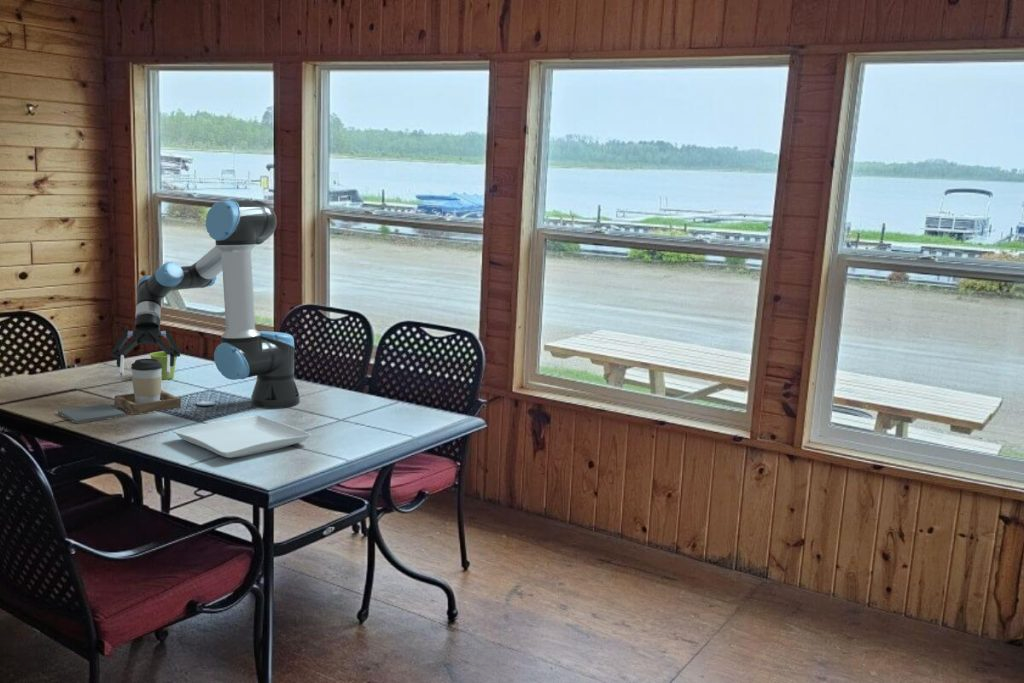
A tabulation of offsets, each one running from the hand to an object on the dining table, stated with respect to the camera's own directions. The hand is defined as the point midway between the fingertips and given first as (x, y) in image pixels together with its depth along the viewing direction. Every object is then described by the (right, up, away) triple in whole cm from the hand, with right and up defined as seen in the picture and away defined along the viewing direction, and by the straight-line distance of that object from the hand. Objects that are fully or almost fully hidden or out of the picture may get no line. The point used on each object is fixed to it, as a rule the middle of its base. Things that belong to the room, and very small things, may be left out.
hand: (145, 374), depth 283 cm
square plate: (+40, -18, -32) cm, 55 cm away
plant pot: (-8, -3, +38) cm, 39 cm away
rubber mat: (-11, -12, -12) cm, 20 cm away
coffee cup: (+1, -10, 0) cm, 10 cm away
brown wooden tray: (+1, -10, 0) cm, 10 cm away
